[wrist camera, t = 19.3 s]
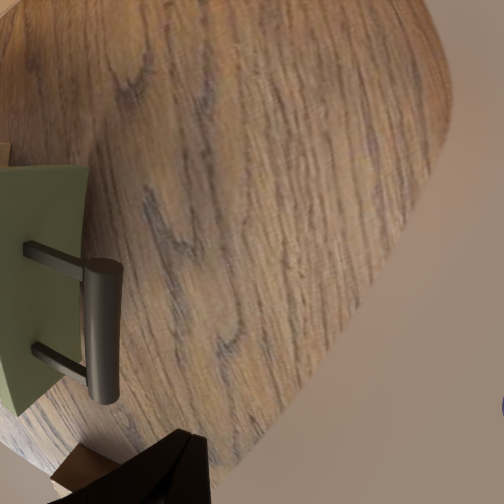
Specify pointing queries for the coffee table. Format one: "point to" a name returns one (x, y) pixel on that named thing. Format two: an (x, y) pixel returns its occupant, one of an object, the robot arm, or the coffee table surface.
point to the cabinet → (4, 153)
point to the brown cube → (80, 470)
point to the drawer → (53, 289)
